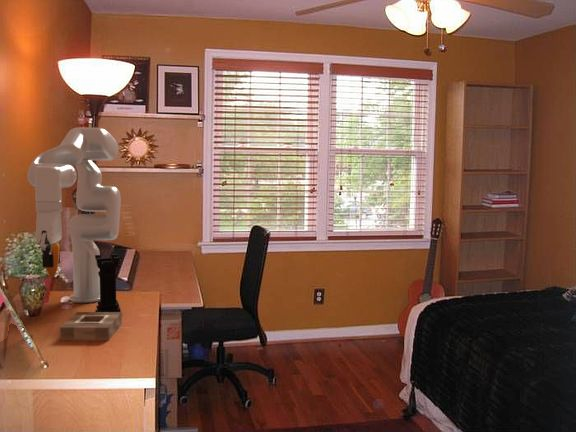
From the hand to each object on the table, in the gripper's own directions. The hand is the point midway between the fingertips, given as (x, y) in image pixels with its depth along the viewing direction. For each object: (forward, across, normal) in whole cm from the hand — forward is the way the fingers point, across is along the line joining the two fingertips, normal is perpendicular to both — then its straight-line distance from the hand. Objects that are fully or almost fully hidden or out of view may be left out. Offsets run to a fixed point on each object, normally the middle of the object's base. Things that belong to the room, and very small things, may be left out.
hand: (51, 264), depth 188 cm
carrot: (+5, 0, 0) cm, 5 cm away
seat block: (+20, +4, +13) cm, 24 cm away
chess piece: (+21, -16, +13) cm, 29 cm away
